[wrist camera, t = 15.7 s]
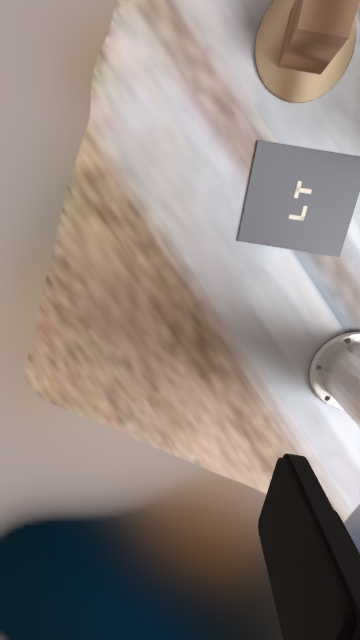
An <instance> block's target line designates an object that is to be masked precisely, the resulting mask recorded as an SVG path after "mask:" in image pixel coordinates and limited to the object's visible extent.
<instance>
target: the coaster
mask: <svg viewBox="0 0 360 640" xmlns="http://www.w3.org/2000/svg"><path fill="white" fill-rule="evenodd" d="M294 1H295V0H274V1H273V2H272V3H271V4H270V6H269V7H268V9H267V11H266V12H265V14H264V16H263V19H262V21H261V24H260V26H259V29H258V33H257V38H256V45H255V58H256V65H257V69H258V72H259V75H260V77H261V80H262V82H263V83H264V85H265V86H266V87H267V89H268V90H269V91H270V92H271V93H272V94H273V95H275V96H276V97H278V98H279V99H282V100H284V101H287V102H292V103H304V102H308V101H311V100H314V99H316V98H318V97H320V96H322V95H323V94H325V93H326V92H328V91H329V90H330V89H331V88H332V87H333V86H334V85H335V84H336V83H337V82H338V81H339V79H340V78H341V77H342V75H343V74H344V72H345V70H346V69H347V67H348V65H349V63H350V60H351V58H352V55H353V52H354V47H355V42H356V22H355V18H354V22H353V25H352V29H351V33H350V36H349V39H348V40H347V41H346V43H345V44H344V45H343V46H342V48H341V49H340V50H339V52H338V53H337V54H336V55H335V57H334V58H333V59H332V61H331V62H330V63H329V64H328V66H327V67H326V68H325V70H324V71H323V72H322V73H321V75H319V74H314V73H308V72H303V71H297V70H292V69H286V68H280V67H278V64H279V59H280V55H281V50H282V46H283V41H284V37H285V32H286V28H287V23H288V18H289V14H290V11H291V8H292V6H293V4H294Z"/></svg>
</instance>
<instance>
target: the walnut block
mask: <svg viewBox="0 0 360 640" xmlns="http://www.w3.org/2000/svg"><path fill="white" fill-rule="evenodd" d="M358 3H359V0H295V1H294V4H293V6H292V8H291V11H290V14H289V18H288V23H287V28H286V32H285V37H284V41H283V46H282V50H281V55H280V59H279V64H278V67H280V68H286V69H292V70H297V71H303V72H308V73H314V74H319V75H321V73H322V72H323V71H324V70H325V68H326V67H327V66H328V64H329V63H330V62H331V61H332V59H333V58H334V57H335V55H336V54H337V53H338V52H339V50H340V49H341V48H342V46H343V45H344V44H345V43H346V41H347V40H348V39H349V36H350V33H351V29H352V25H353V22H354V18H355V14H356V11H357V7H358Z"/></svg>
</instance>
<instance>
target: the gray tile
mask: <svg viewBox="0 0 360 640" xmlns="http://www.w3.org/2000/svg"><path fill="white" fill-rule="evenodd" d="M359 192H360V157H357V156H351V155H345V154H339V153H333V152H326V151H320V150H314V149H308V148H301V147H295V146H289V145H283V144H277V143H270V142H264V141H258V142H257V147H256V152H255V157H254V162H253V167H252V172H251V176H250V181H249V186H248V191H247V196H246V201H245V206H244V211H243V216H242V220H241V225H240V230H239V235H238V240H237V241H243V242H249V243H256V244H262V245H268V246H274V247H281V248H287V249H293V250H300V251H306V252H312V253H318V254H325V255H331V256H337V257H339V256H340V253H341V250H342V247H343V243H344V240H345V237H346V234H347V231H348V227H349V224H350V221H351V218H352V214H353V211H354V208H355V205H356V202H357V198H358V195H359Z"/></svg>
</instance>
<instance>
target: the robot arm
mask: <svg viewBox="0 0 360 640" xmlns="http://www.w3.org/2000/svg"><path fill="white" fill-rule="evenodd" d="M309 374H310V382H311V386H312V388H313V390H314V391H315V393H316V394H317V395H318V397H319V398H320V399H321V400H322V401H323V402H325V403H326V404H328V405H330V406H332V407H335V408H338V409H344V410H345V411H346V413H347V414H348V415H349V416H350V417H351V418H352V419H353V420H354V422H355V423H356V424H357V425H358V426H359V427H360V331H359V332H349V333H344V334H342V335H339V336H337V337H335V338H333V339H331V340H329V341H328V342H327V343H326V344H325V345H323V346H322V347H321V348H320V350H319V351H318V352H317V353H316V355H315V357H314V358H313V361H312V363H311V366H310V373H309ZM258 530H259V536H260V540H261V544H262V549H263V553H264V558H265V562H266V566H267V570H268V575H269V580H270V584H271V588H272V593H273V597H274V602H275V606H276V610H277V615H278V619H279V623H280V627H281V632H282V637H283V640H360V554H359V552H358V550H357V548H356V546H355V544H354V543H353V540H352V539H351V537H350V535H349V533H348V531H347V529H346V527H345V525H344V524H343V522H342V520H341V518H340V516H339V515H338V513H337V512H336V511H335V510H334V509H333V508H332V506H331V504H330V502H329V500H328V498H327V496H326V494H325V493H324V491H323V489H322V487H321V485H320V483H319V481H318V479H317V477H316V475H315V473H314V472H313V470H312V468H311V466H310V464H309V462H308V460H307V459H306V457H304V456H299V455H293V454H285V455H284V456H283V458H278V460H277V463H276V466H275V470H274V473H273V476H272V479H271V482H270V486H269V489H268V492H267V495H266V499H265V501H264V505H263V508H262V511H261V514H260V517H259V523H258Z"/></svg>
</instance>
